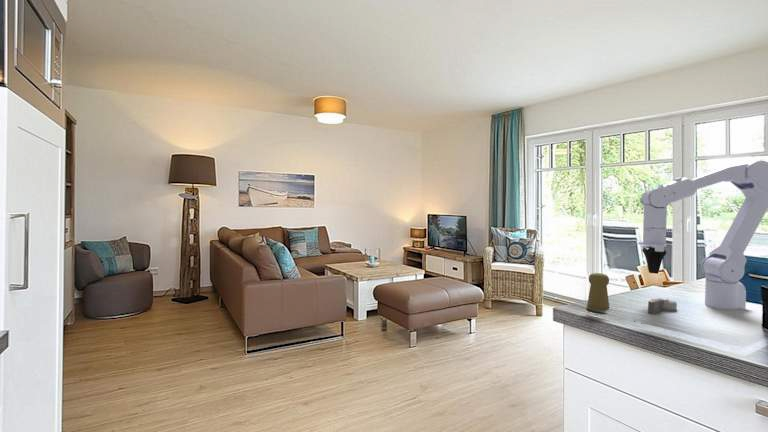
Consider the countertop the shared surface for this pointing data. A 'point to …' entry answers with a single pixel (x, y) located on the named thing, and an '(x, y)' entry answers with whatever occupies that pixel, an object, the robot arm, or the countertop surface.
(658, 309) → the peg dial
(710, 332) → the countertop surface
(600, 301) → the cork
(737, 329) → the countertop surface
